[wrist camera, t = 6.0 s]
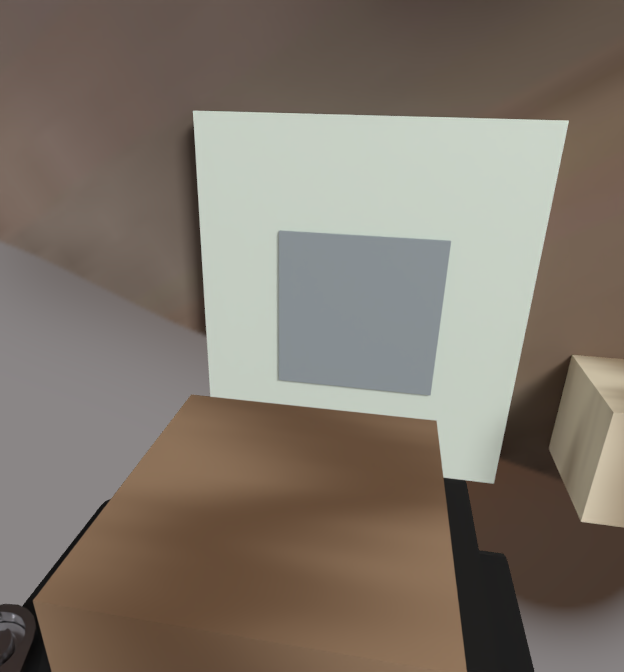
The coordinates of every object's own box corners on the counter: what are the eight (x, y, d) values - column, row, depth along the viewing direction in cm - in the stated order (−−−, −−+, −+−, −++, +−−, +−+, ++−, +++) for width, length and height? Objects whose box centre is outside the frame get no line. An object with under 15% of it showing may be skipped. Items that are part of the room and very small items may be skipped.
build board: (559, 120, 19) (570, 120, 18) (490, 468, 25) (494, 485, 24) (203, 111, 21) (191, 110, 20) (220, 435, 27) (212, 450, 26)
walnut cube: (436, 420, 10) (467, 675, 5) (410, 603, 12) (416, 905, 7) (191, 394, 11) (32, 600, 6) (204, 571, 13) (92, 828, 8)
